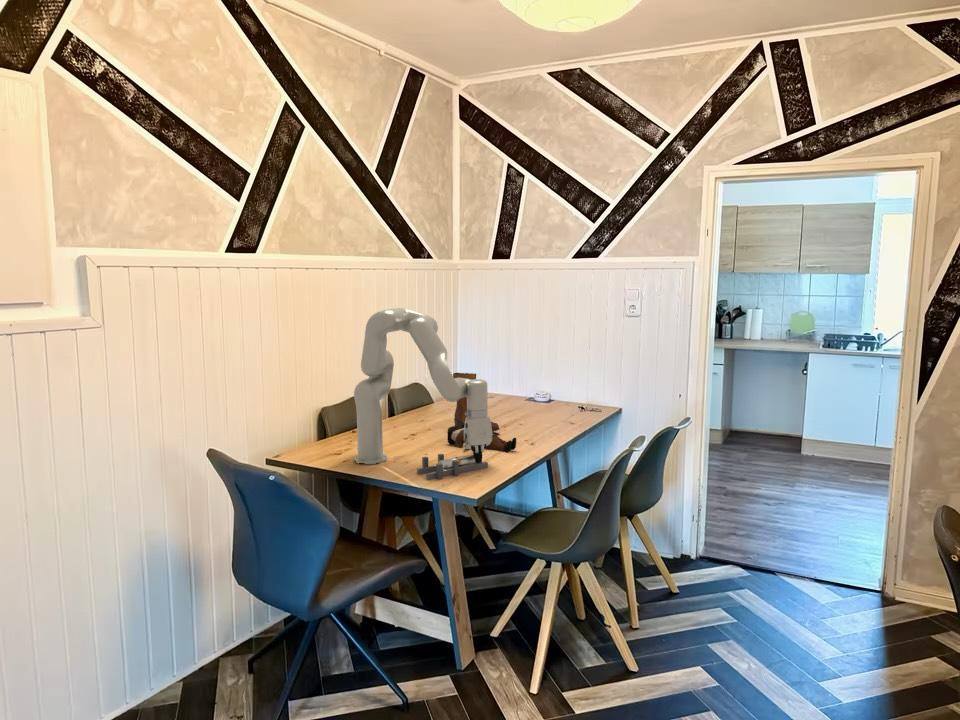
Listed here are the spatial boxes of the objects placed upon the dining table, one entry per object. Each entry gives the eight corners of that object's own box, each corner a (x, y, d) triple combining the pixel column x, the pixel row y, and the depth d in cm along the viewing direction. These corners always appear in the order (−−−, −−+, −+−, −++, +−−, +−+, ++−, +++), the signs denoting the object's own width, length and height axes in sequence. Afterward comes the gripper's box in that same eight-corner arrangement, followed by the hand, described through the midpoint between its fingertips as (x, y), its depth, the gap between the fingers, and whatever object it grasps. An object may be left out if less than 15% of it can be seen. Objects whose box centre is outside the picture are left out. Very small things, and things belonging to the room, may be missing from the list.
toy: (499, 447, 242) (435, 428, 257) (497, 470, 244) (433, 450, 259) (527, 432, 263) (466, 415, 277) (524, 454, 265) (464, 436, 279)
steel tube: (444, 472, 223) (443, 459, 224) (439, 472, 227) (437, 459, 227) (476, 466, 230) (474, 454, 230) (469, 466, 234) (468, 454, 234)
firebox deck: (414, 475, 226) (414, 458, 225) (472, 463, 240) (472, 447, 239) (431, 484, 216) (430, 466, 215) (490, 471, 230) (490, 455, 229)
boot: (503, 434, 284) (503, 375, 280) (488, 437, 277) (488, 377, 274) (465, 424, 302) (465, 368, 298) (450, 427, 296) (450, 370, 292)
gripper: (465, 418, 223) (466, 468, 226) (499, 412, 232) (500, 461, 234) (454, 414, 230) (455, 463, 232) (488, 409, 238) (488, 456, 240)
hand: (477, 462), depth 233 cm, fingers closed
